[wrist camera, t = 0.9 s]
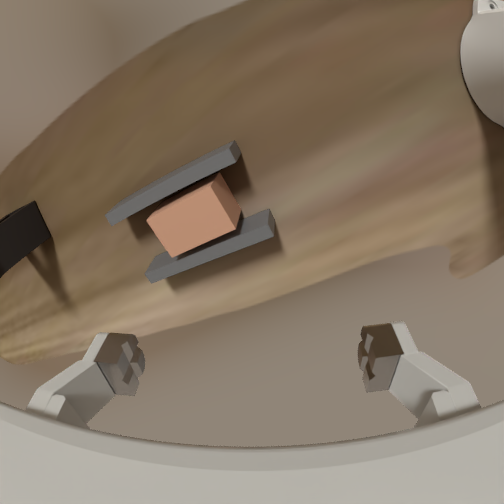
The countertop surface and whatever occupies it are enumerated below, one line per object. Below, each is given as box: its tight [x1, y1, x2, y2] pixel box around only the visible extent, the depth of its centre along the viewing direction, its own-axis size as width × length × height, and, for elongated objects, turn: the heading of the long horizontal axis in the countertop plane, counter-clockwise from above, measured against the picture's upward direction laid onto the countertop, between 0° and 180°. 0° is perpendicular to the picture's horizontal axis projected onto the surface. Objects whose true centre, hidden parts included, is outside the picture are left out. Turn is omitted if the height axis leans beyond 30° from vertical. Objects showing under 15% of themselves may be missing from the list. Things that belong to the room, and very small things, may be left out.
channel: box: [105, 140, 275, 284], centre depth 34 cm, size 16×10×4 cm, turn 116°
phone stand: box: [0, 201, 51, 278], centre depth 34 cm, size 9×6×12 cm, turn 104°
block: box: [146, 172, 241, 258], centre depth 34 cm, size 8×5×5 cm, turn 117°
